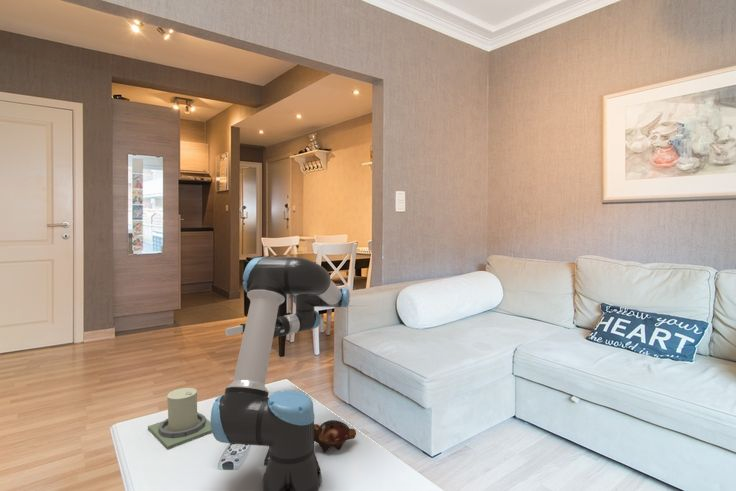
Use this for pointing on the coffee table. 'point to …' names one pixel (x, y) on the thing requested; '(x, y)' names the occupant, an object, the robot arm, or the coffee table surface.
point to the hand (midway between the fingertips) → (235, 335)
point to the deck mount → (180, 432)
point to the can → (182, 409)
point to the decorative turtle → (332, 434)
